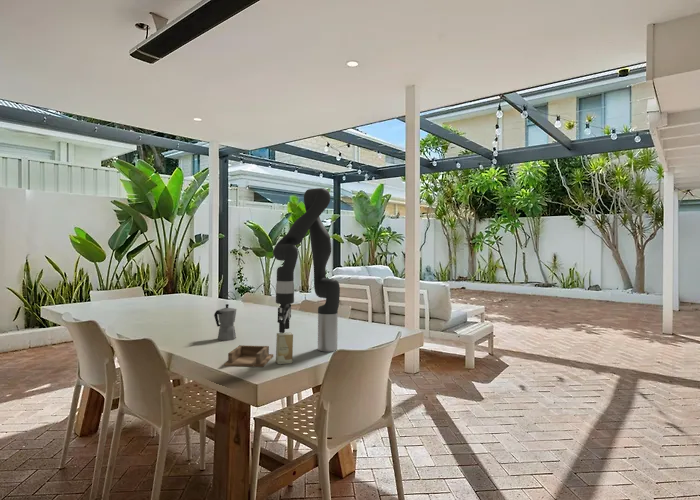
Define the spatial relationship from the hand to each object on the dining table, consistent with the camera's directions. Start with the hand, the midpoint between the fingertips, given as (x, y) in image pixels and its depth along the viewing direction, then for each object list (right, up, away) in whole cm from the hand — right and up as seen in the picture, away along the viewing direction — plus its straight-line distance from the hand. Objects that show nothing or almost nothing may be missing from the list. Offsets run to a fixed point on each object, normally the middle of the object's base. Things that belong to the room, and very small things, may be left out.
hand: (284, 330), depth 182 cm
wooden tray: (-15, -13, +2) cm, 20 cm away
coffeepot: (-37, -13, +43) cm, 58 cm away
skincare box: (0, -14, 0) cm, 14 cm away
